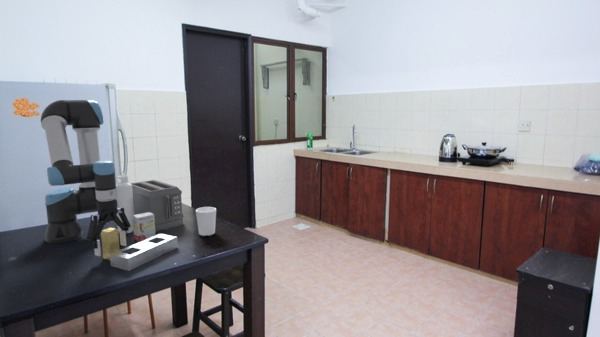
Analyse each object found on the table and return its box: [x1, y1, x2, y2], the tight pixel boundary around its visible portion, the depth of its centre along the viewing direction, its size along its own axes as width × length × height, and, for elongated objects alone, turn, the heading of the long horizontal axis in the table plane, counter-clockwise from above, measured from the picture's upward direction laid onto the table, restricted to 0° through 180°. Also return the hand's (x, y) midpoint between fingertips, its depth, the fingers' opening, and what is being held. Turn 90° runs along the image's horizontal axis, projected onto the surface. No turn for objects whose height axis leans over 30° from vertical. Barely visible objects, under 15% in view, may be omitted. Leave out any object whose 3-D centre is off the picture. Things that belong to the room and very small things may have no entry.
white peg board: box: [109, 233, 179, 272], centre depth 155 cm, size 10×26×5 cm, turn 155°
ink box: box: [133, 212, 157, 243], centre depth 175 cm, size 9×5×12 cm, turn 136°
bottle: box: [116, 174, 134, 234], centre depth 184 cm, size 8×8×28 cm
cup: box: [195, 206, 217, 238], centre depth 180 cm, size 10×10×13 cm
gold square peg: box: [100, 227, 121, 261], centre depth 153 cm, size 4×4×12 cm
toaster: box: [129, 179, 185, 232], centre depth 199 cm, size 19×34×20 cm, turn 47°
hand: (111, 250), depth 154 cm, fingers open, 11 cm apart
